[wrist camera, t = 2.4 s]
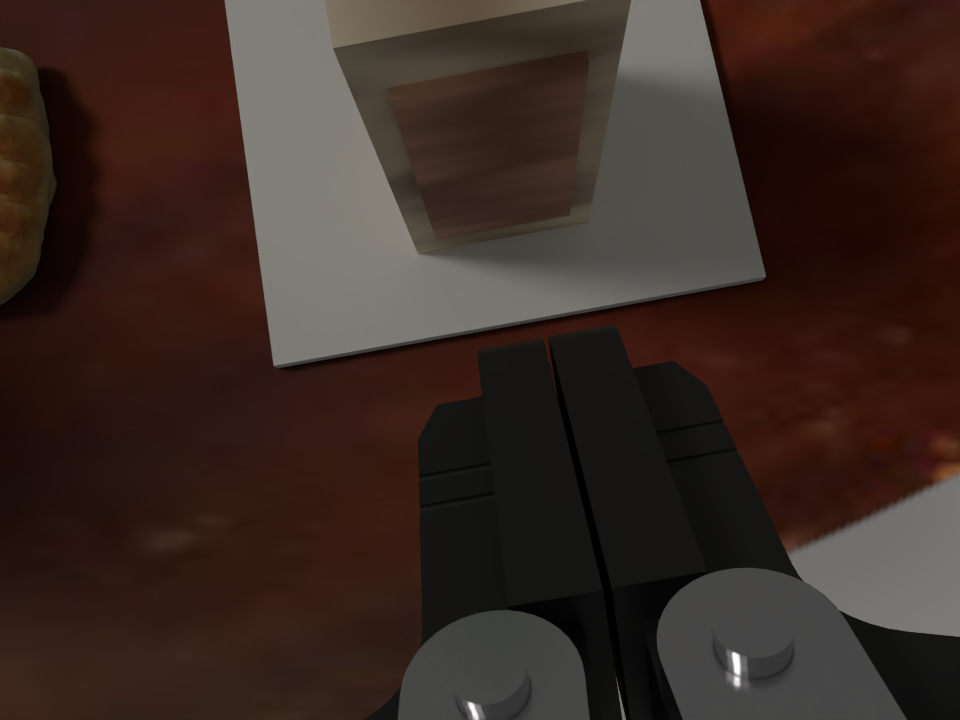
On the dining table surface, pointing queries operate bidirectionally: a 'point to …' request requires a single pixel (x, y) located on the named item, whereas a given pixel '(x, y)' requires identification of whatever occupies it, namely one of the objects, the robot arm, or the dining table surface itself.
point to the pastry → (22, 171)
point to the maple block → (483, 108)
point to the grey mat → (496, 263)
